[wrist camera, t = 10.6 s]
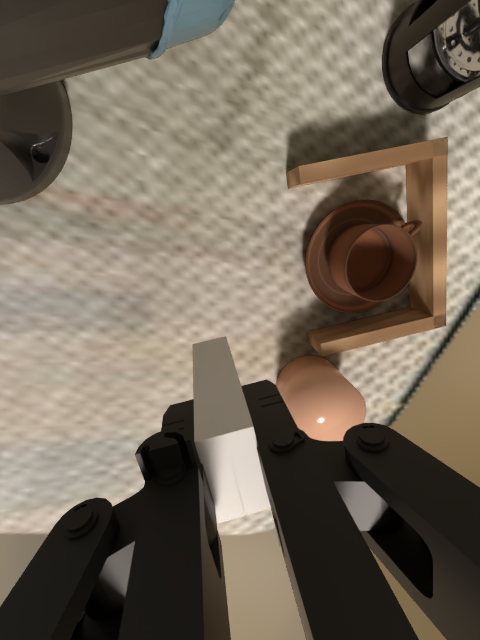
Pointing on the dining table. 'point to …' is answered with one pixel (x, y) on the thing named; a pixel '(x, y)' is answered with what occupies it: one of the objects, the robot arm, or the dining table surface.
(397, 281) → the cup and saucer
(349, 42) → the dining table surface
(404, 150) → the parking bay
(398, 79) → the french press
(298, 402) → the peach rounded capsule
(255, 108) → the dining table surface
